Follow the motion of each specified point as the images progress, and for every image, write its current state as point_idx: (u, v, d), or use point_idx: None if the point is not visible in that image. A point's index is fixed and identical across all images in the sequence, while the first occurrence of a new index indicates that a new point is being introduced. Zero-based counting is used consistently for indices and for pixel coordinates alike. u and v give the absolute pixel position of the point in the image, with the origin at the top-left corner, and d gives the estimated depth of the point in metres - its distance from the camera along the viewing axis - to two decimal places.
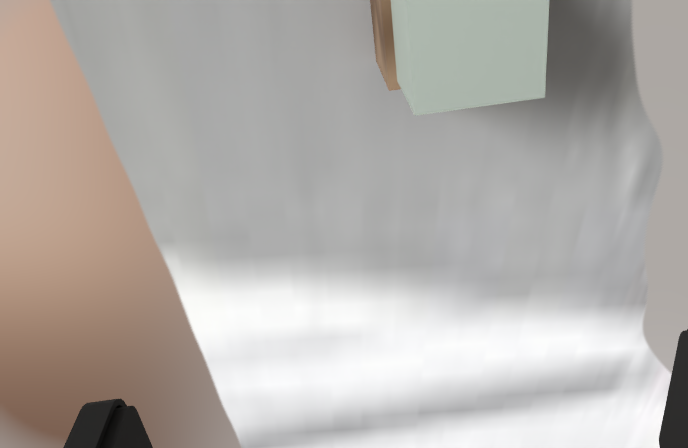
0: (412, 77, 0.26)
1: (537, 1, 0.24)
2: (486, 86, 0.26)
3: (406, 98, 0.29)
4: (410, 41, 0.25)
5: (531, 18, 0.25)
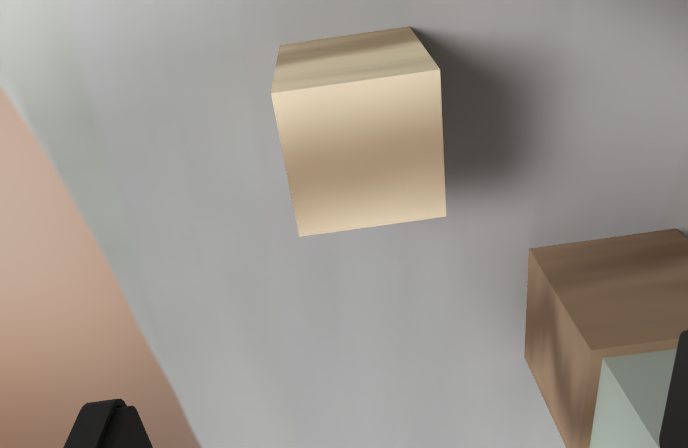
0: None
1: None
2: None
3: None
4: None
5: None
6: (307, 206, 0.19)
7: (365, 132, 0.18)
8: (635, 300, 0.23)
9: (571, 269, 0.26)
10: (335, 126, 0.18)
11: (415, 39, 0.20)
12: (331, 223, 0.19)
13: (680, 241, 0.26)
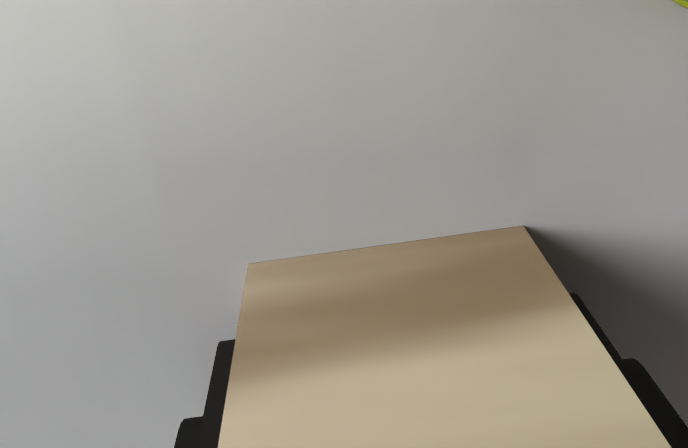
0: None
1: None
2: None
3: None
4: None
5: None
6: None
7: None
8: None
9: None
10: None
11: (563, 296, 0.09)
12: None
13: None
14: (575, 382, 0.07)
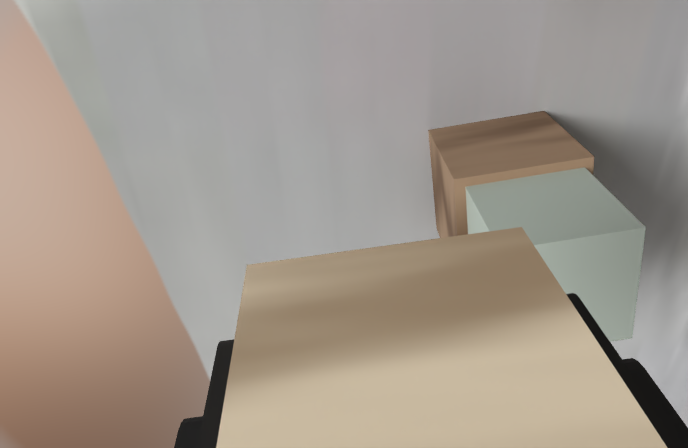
0: None
1: (629, 264, 0.24)
2: None
3: None
4: None
5: (622, 278, 0.25)
6: None
7: None
8: (497, 151, 0.31)
9: (456, 139, 0.33)
10: None
11: (561, 298, 0.09)
12: None
13: (544, 117, 0.34)
14: (572, 383, 0.07)
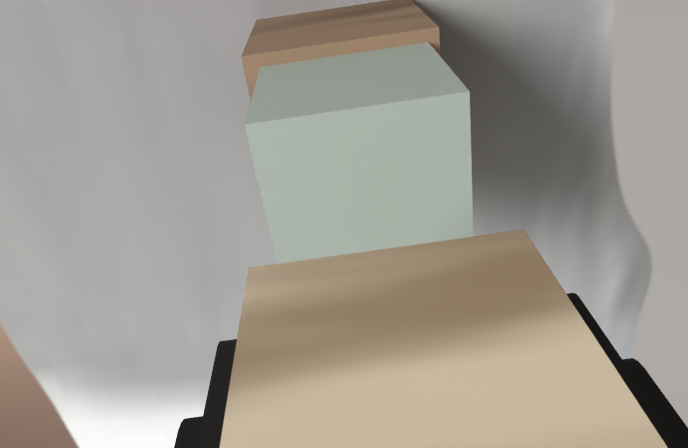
0: (275, 256, 0.17)
1: (453, 155, 0.16)
2: None
3: None
4: (265, 211, 0.17)
5: (445, 178, 0.16)
6: None
7: None
8: (320, 30, 0.22)
9: (281, 24, 0.25)
10: None
11: (563, 301, 0.09)
12: None
13: (403, 2, 0.25)
14: (576, 388, 0.07)
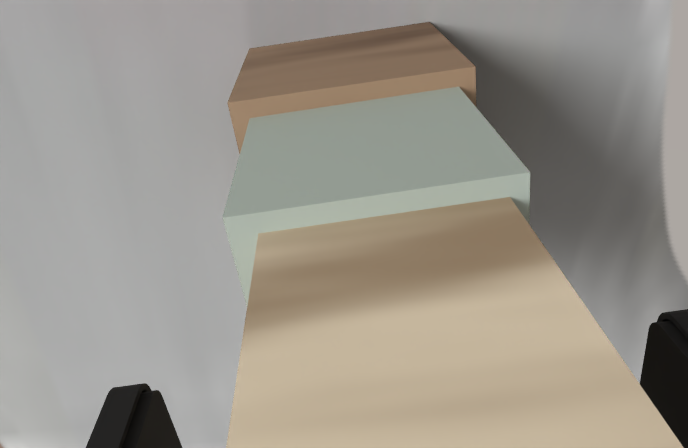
0: None
1: None
2: None
3: None
4: None
5: None
6: None
7: None
8: (325, 67, 0.18)
9: (278, 56, 0.20)
10: None
11: (543, 254, 0.09)
12: None
13: (424, 28, 0.21)
14: (550, 322, 0.08)
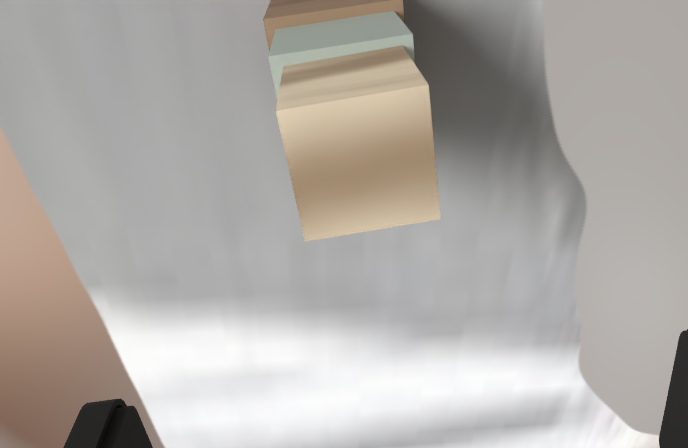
0: None
1: None
2: None
3: None
4: None
5: None
6: (311, 212, 0.21)
7: (362, 144, 0.19)
8: (319, 3, 0.31)
9: (290, 1, 0.33)
10: (335, 139, 0.19)
11: (407, 57, 0.22)
12: (334, 228, 0.21)
13: None
14: (400, 70, 0.21)
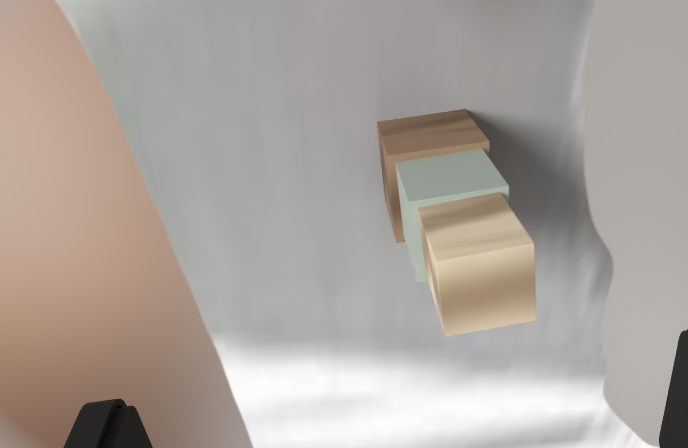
0: (415, 260, 0.36)
1: None
2: None
3: (411, 261, 0.40)
4: (413, 239, 0.36)
5: None
6: (452, 318, 0.31)
7: (489, 277, 0.30)
8: (422, 137, 0.41)
9: (395, 128, 0.44)
10: (471, 275, 0.30)
11: (508, 208, 0.33)
12: (466, 327, 0.32)
13: (463, 114, 0.44)
14: (509, 224, 0.31)
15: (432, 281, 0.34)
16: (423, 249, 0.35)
